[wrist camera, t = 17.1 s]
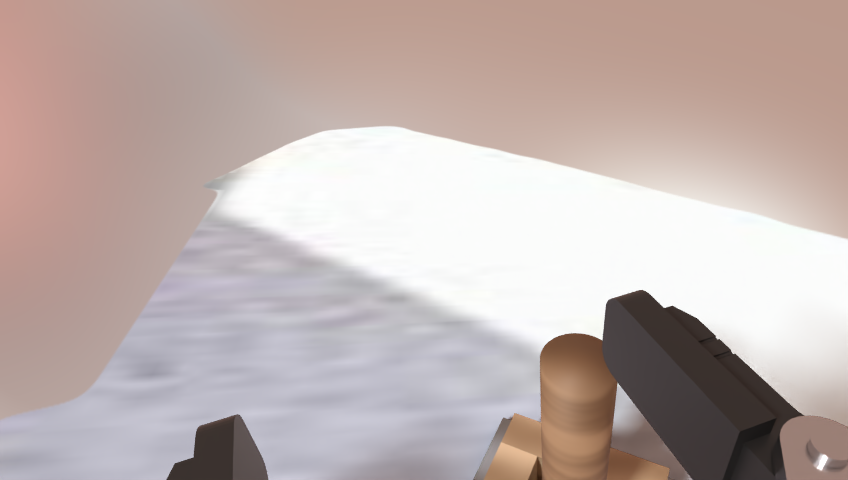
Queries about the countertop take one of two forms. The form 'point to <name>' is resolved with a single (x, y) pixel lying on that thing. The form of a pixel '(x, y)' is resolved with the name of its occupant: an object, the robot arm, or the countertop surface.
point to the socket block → (522, 456)
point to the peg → (576, 408)
